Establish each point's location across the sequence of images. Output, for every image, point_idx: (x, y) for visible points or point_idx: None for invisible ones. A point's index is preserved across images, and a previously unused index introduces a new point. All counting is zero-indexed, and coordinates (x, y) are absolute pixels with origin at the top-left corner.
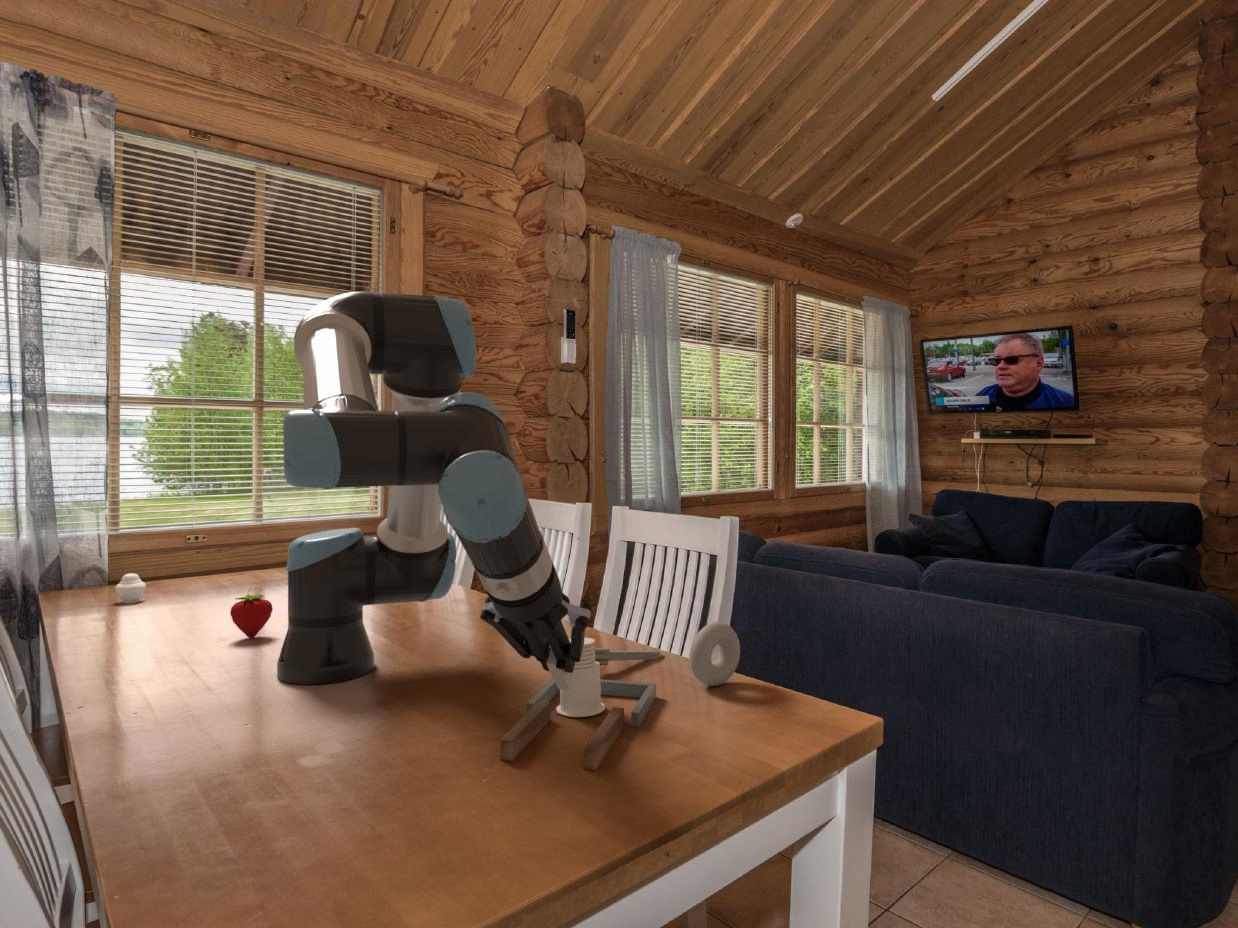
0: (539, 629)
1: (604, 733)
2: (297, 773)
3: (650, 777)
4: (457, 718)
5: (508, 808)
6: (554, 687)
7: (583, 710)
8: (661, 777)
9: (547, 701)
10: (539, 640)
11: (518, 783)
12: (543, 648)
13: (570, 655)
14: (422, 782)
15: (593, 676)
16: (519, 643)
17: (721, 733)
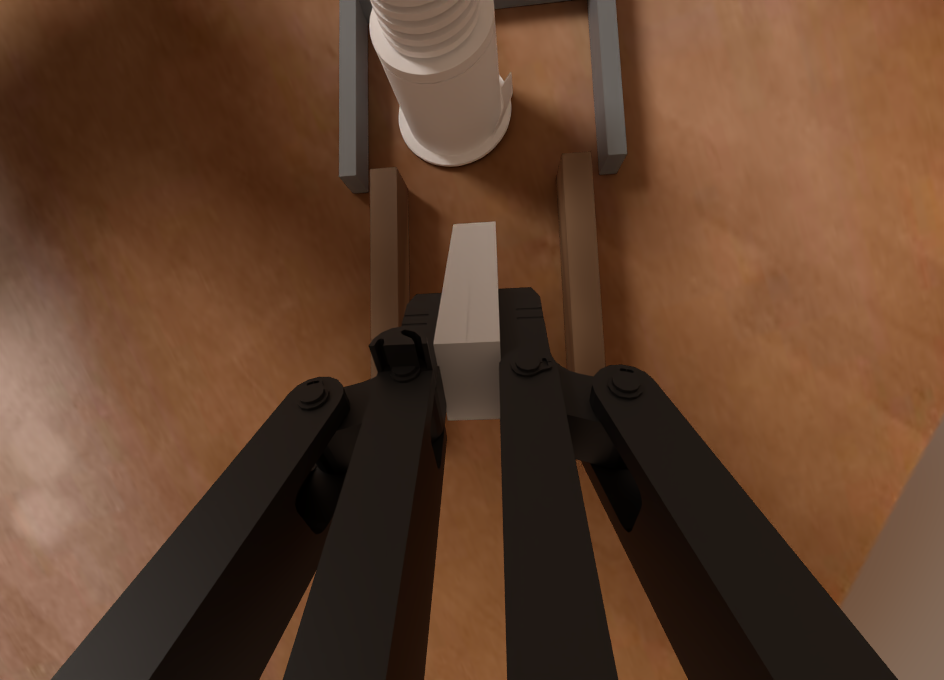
0: (407, 665)
1: (596, 324)
2: (43, 578)
3: (720, 417)
4: (214, 243)
5: (486, 623)
6: (360, 37)
7: (473, 144)
8: (743, 411)
9: (389, 168)
10: (426, 604)
11: (463, 514)
12: (436, 490)
13: (600, 497)
14: None
15: (488, 60)
16: (303, 592)
17: (815, 147)
